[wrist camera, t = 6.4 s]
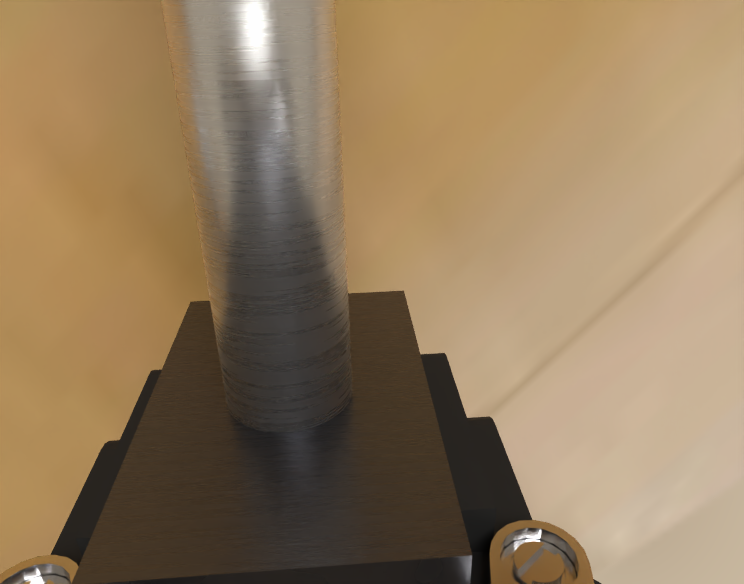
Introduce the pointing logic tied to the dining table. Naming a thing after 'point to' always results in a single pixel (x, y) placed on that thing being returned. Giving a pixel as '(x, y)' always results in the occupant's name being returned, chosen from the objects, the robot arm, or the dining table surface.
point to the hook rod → (278, 348)
